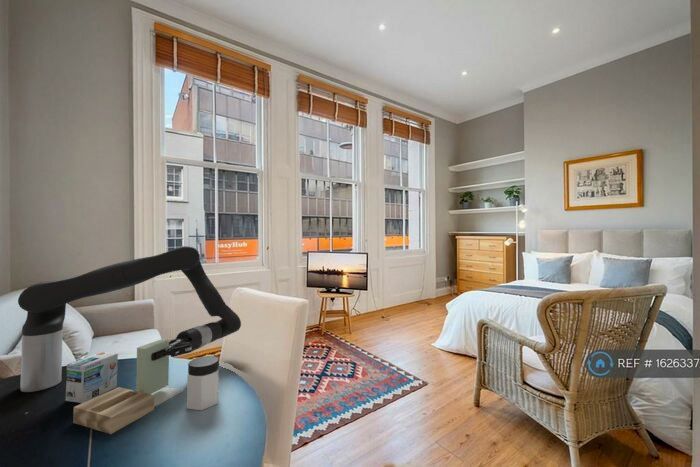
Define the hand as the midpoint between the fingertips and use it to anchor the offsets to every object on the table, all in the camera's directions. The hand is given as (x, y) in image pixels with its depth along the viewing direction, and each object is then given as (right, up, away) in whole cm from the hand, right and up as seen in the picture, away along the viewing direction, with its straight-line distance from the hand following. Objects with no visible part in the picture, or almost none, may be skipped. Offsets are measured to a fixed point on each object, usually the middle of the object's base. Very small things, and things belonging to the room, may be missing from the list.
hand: (148, 356), depth 89 cm
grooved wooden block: (-3, -12, -9) cm, 15 cm away
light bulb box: (-19, -13, +3) cm, 23 cm away
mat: (+1, -13, +2) cm, 13 cm away
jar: (+17, -13, -2) cm, 22 cm away
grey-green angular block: (0, -11, +1) cm, 11 cm away
